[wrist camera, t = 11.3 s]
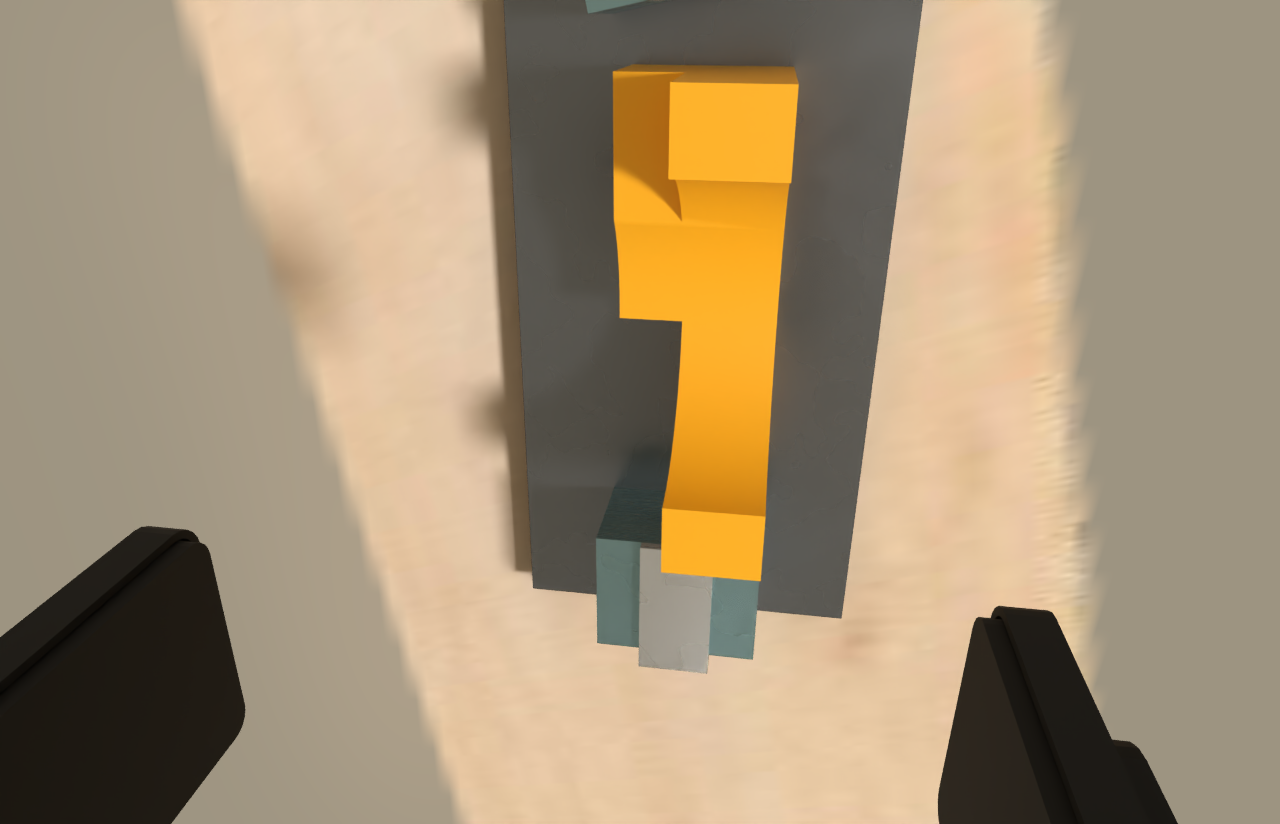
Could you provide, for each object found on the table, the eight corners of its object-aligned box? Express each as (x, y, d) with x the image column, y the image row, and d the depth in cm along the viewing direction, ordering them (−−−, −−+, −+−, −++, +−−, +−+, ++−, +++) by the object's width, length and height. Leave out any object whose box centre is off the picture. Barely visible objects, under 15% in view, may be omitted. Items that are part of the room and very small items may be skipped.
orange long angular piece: (633, 64, 24) (585, 80, 18) (794, 66, 23) (798, 84, 17) (632, 454, 29) (595, 566, 23) (764, 464, 28) (760, 581, 22)
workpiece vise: (839, 601, 31) (848, 688, 27) (539, 572, 33) (505, 651, 28) (945, -218, 21) (984, -272, 17) (504, -208, 22) (443, -257, 18)
